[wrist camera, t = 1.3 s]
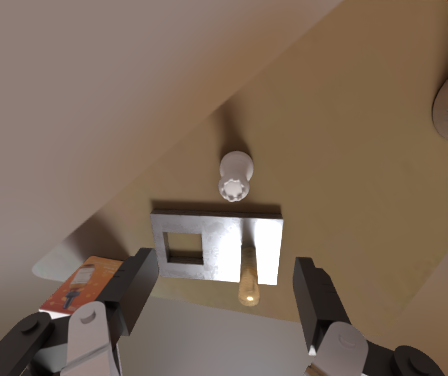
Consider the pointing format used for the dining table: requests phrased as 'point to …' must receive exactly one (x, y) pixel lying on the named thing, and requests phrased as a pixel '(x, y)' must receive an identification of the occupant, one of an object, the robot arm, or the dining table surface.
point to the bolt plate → (222, 247)
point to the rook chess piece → (235, 175)
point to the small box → (81, 287)
